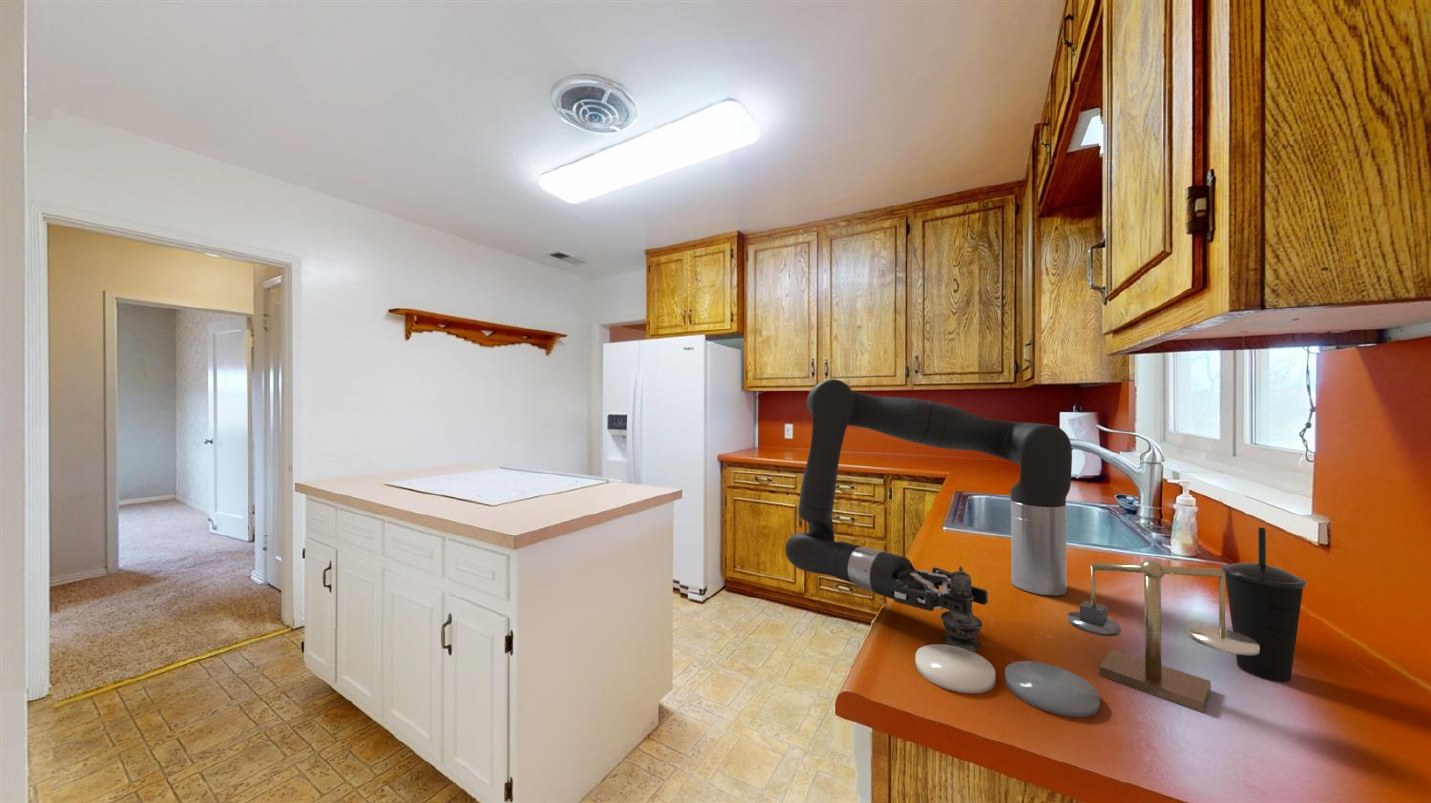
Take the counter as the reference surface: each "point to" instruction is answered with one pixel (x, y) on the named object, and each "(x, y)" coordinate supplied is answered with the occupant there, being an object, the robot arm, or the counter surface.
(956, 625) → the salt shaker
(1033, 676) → the slate-grey dish
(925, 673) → the cream dish
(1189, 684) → the brass balance
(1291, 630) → the drinking cup
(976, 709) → the counter surface
